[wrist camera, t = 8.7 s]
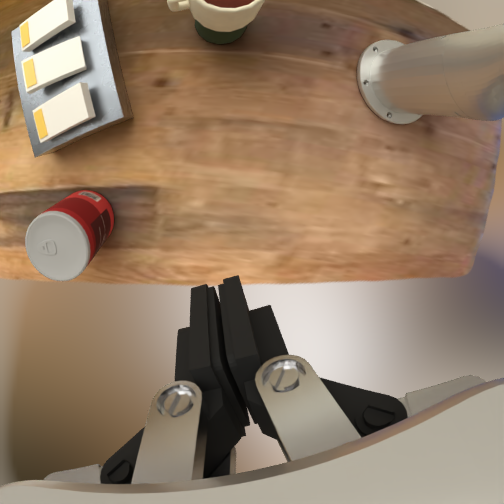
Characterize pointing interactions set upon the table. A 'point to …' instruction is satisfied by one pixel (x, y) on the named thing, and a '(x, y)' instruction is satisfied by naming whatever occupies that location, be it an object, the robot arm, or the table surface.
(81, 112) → the rocker
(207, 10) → the character mug
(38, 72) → the rocker
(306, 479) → the robot arm
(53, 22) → the rocker
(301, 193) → the table surface
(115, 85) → the console
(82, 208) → the canned food
